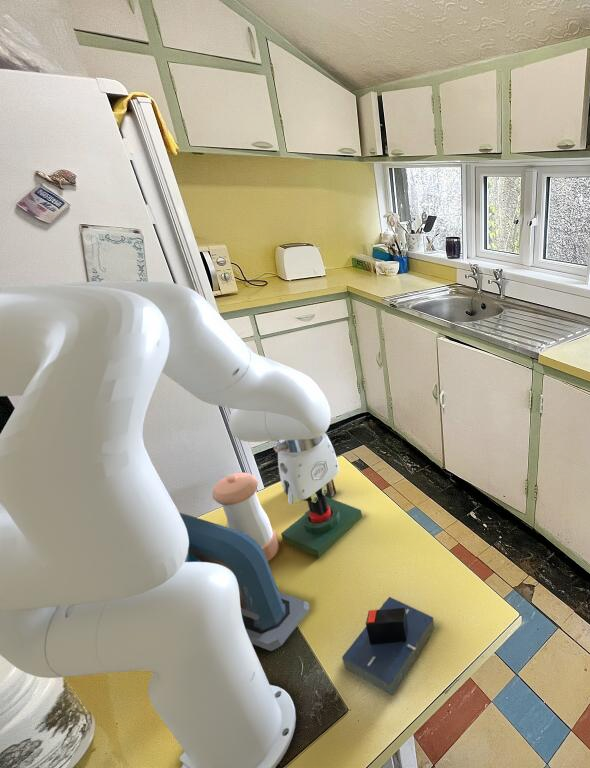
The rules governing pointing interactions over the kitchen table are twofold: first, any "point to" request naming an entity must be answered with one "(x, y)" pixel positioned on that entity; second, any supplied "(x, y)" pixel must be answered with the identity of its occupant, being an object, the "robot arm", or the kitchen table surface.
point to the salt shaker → (246, 510)
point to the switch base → (389, 651)
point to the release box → (322, 529)
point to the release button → (320, 516)
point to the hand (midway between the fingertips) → (319, 510)
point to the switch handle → (387, 626)
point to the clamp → (248, 581)
